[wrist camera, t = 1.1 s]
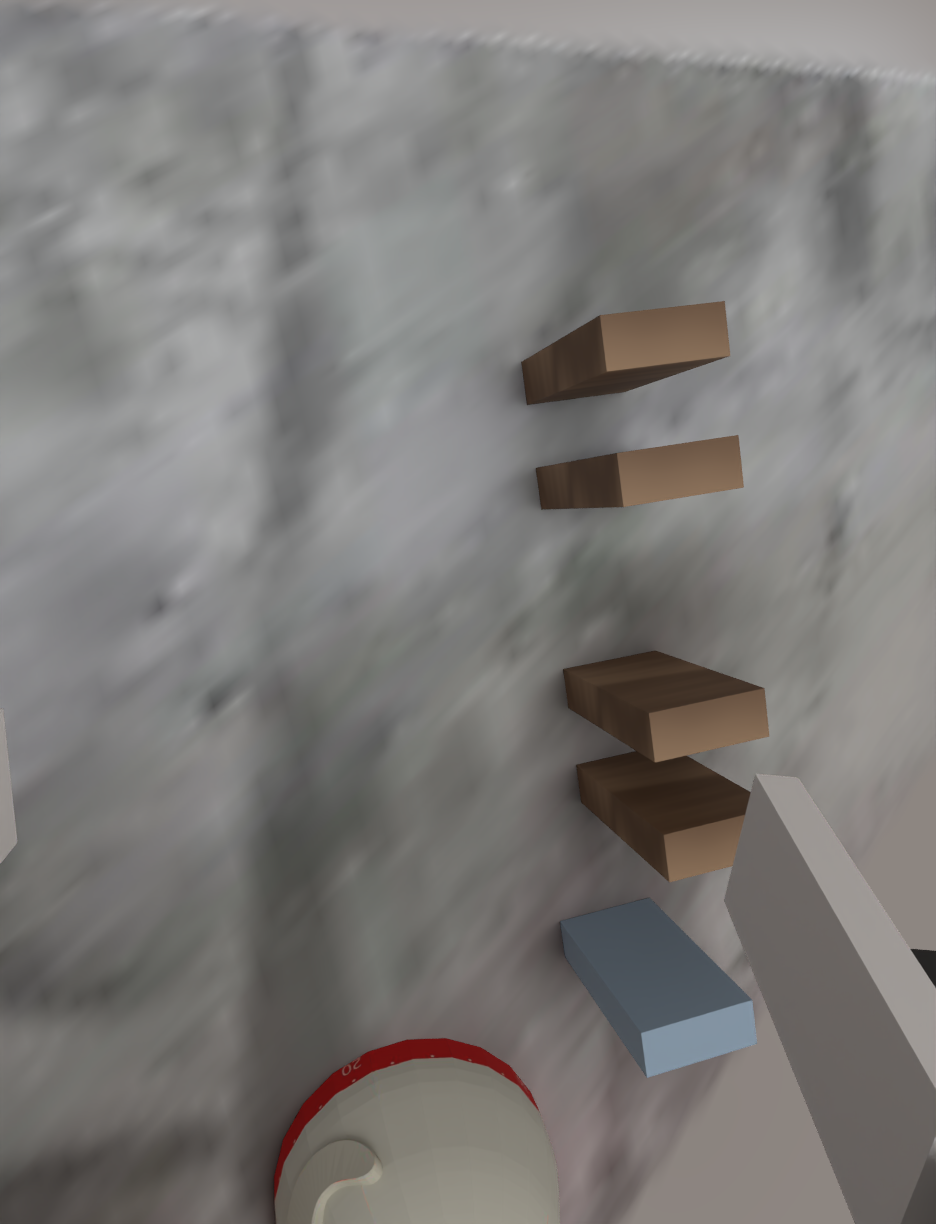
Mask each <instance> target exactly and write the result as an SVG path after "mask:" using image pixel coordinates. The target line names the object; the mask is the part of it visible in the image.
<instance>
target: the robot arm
mask: <svg viewBox="0 0 936 1224" xmlns="http://www.w3.org/2000/svg"><path fill="white" fill-rule="evenodd" d="M16 844H17V833H16V824H15V815H14V805H13V796H12V786H11V777H10V767H9V758H8V749H7V739H6V730H5V720H4V711H3V709H2V708H0V864H1V862H2V861H3V860H4V859H5V857H6V856H7V855H8V854H9V852H10V851H11V850H12V849H13V847H14V846H15V845H16ZM724 902H725V904H726V907H727V909H728V912H729V914H730V916H731V919H732V921H733V924H734V926H735V929H736V931H737V934H738V936H739V939H740V941H741V944H742V946H743V949H744V951H745V954H746V956H747V958H748V961H749V963H750V966H751V968H752V971H753V973H754V976H755V978H756V981H757V983H758V986H759V988H760V991H761V993H762V995H763V998H764V1000H765V1003H766V1005H767V1008H768V1010H769V1013H770V1015H771V1018H772V1020H773V1023H774V1025H775V1028H776V1030H777V1032H778V1035H779V1037H780V1040H781V1042H782V1045H783V1047H784V1050H785V1052H786V1055H787V1057H788V1060H789V1062H790V1065H791V1067H792V1070H793V1072H794V1074H795V1077H796V1079H797V1082H798V1084H799V1087H800V1089H801V1092H802V1094H803V1097H804V1099H805V1101H806V1104H807V1106H808V1109H809V1111H810V1114H811V1116H812V1119H813V1121H814V1124H815V1126H816V1129H817V1131H818V1133H819V1136H820V1139H821V1141H822V1143H823V1146H824V1148H825V1151H826V1153H827V1156H828V1158H829V1161H830V1163H831V1166H832V1168H833V1170H834V1173H835V1175H836V1178H837V1180H838V1183H839V1186H840V1188H841V1190H842V1193H843V1195H844V1198H845V1200H846V1203H847V1205H848V1208H849V1210H850V1213H851V1215H852V1218H853V1220H854V1223H855V1224H936V951H930V950H918V949H910V948H909V946H908V945H907V943H906V942H905V940H904V939H903V937H902V936H901V934H900V933H899V931H898V930H897V928H896V927H895V925H894V924H893V922H892V920H891V919H890V917H889V916H888V914H887V913H886V911H885V910H884V908H883V907H882V905H881V904H880V902H879V901H878V899H877V898H876V896H875V895H874V893H873V892H872V890H871V888H870V887H869V885H868V884H867V882H866V881H865V879H864V878H863V876H862V875H861V873H860V872H859V870H858V868H857V867H856V865H855V864H854V862H853V861H852V859H851V858H850V856H849V855H848V853H847V852H846V850H845V849H844V847H843V845H842V844H841V842H840V841H839V839H838V838H837V836H836V835H835V833H834V832H833V830H832V829H831V827H830V826H829V824H828V823H827V821H826V819H825V818H824V816H823V815H822V813H821V812H820V810H819V809H818V807H817V806H816V804H815V803H814V801H813V800H812V798H811V797H810V795H809V793H808V792H807V790H806V789H805V787H804V786H803V784H802V783H801V781H800V780H799V778H798V777H787V776H775V775H764V774H755V777H754V781H753V785H752V789H751V793H750V797H749V802H748V806H747V810H746V814H745V818H744V822H743V826H742V830H741V834H740V838H739V842H738V846H737V850H736V854H735V858H734V862H733V866H732V870H731V874H730V879H729V883H728V887H727V891H726V895H725V899H724Z"/></svg>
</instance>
